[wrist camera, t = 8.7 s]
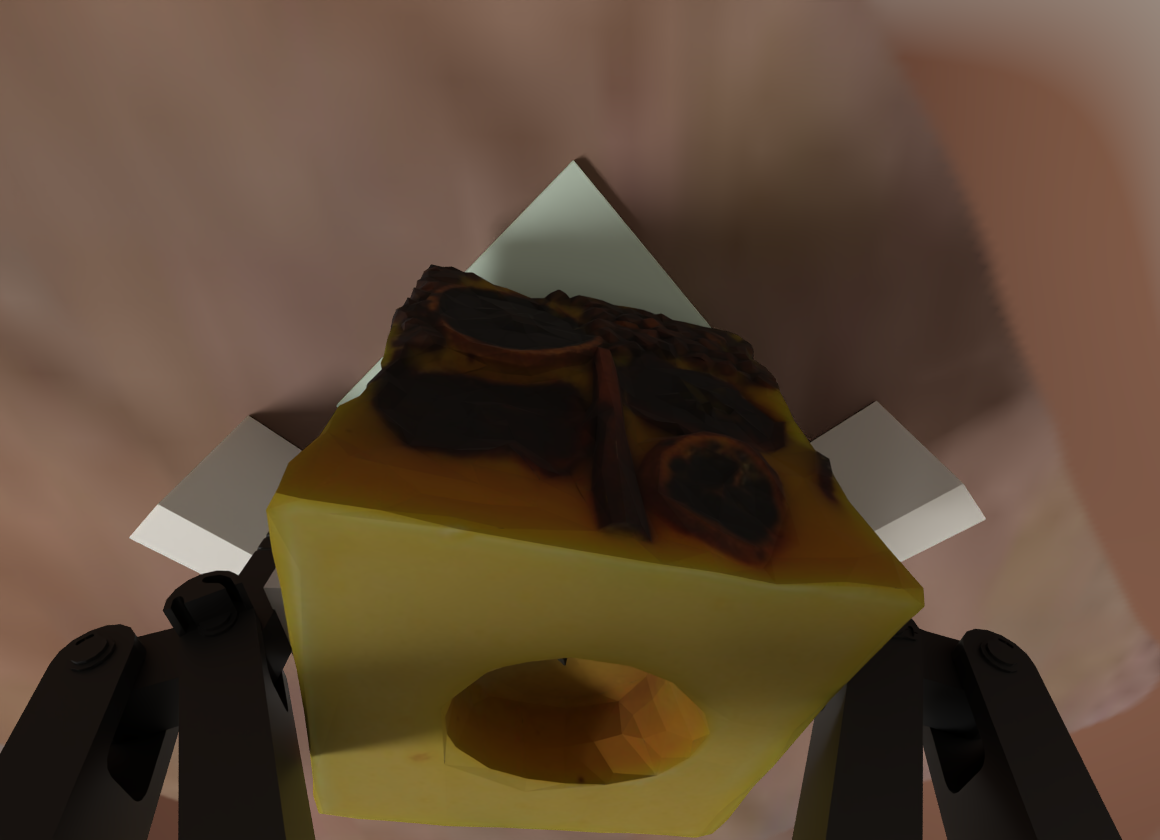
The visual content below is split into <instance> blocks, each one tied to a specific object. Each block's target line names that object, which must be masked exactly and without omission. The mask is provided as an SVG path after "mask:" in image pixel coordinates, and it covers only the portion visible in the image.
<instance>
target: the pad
mask: <svg viewBox="0 0 1160 840" xmlns="http://www.w3.org/2000/svg"><path fill="white" fill-rule="evenodd" d="M465 272H473V273H475V274H476V275H478V276H480V277H482V278H483V279H485V280H487V281H488V282H490V283H492V284H494V285H497V286H501V287H505V288H508V289H510V290H513V291H515V292H518V293H520V294H523V295H525V296H527V297H530V298H545V297H546V296H547V295H548V294H550V293H551V292H554V291H556V290H561V291H563V292H565V293H566V294H567V295H568V296H569V298H571V297H574V296H577V295H582V296H587V297H591V298H595V299H600V300H603V301H606V302H608V303H610V304H613V305H618V306H626V307H632V308H637V309H642V310H646V311H648V312H651V313H654V314H660V313H662V314H664V315H665V316H667V317H669V318H671V319H672V320H677V321H682V322H687V323H691V324H695V325H699V326H703V327H708V328H711V327H710V325H709V324H708V323H707V322H706V321H705V319H704V318H703V317H702V316H701V315H700V313H699V312H698V311H697V310H696V308H695V307H694V306H693V305H692V304H691V302H690V301H689V300H688V299H687V297H686V296H685V295H684V294H683V293H682V291H681V290H680V289H679V288H678V287H677V285H676V284H675V283H674V282H673V280H672V279H671V278H670V277H669V276H668V274H667V273H666V272H665V271H664V269H663V268H662V267H661V266H660V265H659V263H658V262H657V261H656V260H655V258H654V257H653V256H652V255H651V254H650V252H649V251H648V250H647V249H646V248H645V246H644V245H643V244H642V243H641V241H640V240H639V239H638V238H637V237H636V235H635V234H634V233H633V232H632V230H631V229H630V228H629V227H628V226H627V224H626V223H625V222H624V221H623V220H622V218H621V217H620V216H619V215H618V213H617V212H616V211H615V210H614V209H613V207H612V206H611V205H610V204H609V202H608V201H607V200H606V199H605V198H604V196H603V195H602V194H601V193H600V192H599V190H598V189H597V188H596V187H595V185H594V184H593V183H592V182H591V181H590V179H589V178H588V177H587V176H586V174H585V173H584V172H583V171H582V170H581V168H580V167H579V166H578V165H577V164H576V162H575V161H574V160H573V161H572V162H571V163H570V164H569V165H568V166H567V167H566V168H565V169H564V170H563V171H562V172H561V173H560V174H559V175H558V176H557V177H556V178H555V179H554V180H553V181H552V182H551V183H550V185H549V186H548V187H547V188H546V189H545V190H544V191H543V192H542V193H541V194H540V195H539V196H538V197H537V198H536V199H535V200H534V201H533V202H532V203H531V204H530V205H529V206H528V207H527V208H526V209H525V210H524V211H523V212H522V213H521V215H520V216H519V217H518V218H517V219H516V220H515V221H514V222H513V223H512V224H511V225H510V226H509V227H508V228H507V229H506V230H505V231H504V232H503V233H502V234H501V235H500V236H499V237H498V238H497V239H496V240H495V241H494V242H493V243H492V244H491V246H490V247H489V248H488V249H487V250H486V251H485V252H484V253H483V254H482V255H481V256H480V257H479V258H478V259H477V260H476V261H475V262H474V263H473V264H472V265H471V266H470V267H469V268H468V269H467V270H466V271H465ZM382 359H383V357H382V358H381V359H380V360H379V361H378V362H377V363H376V364H375V365H374V367H373V368H372V369H371V370H370V371H369V372H368V373H367V374H366V375H365V376H364V377H363V378H362V379H361V380H360V381H359V382H358V383H357V384H356V385H355V386H354V387H353V388H352V389H351V390H350V391H349V392H348V393H347V394H346V395H345V397H344V398H343V399H342V400H341V401H340V402H339V403H338V404H337V407H339V405H342V404H344V403H346V402H348V401H350V400H352V399H354V398H356V397H358V396H360V395H361V394H362V393H363V391H364V390H365V389H366V387H367V383H368V382H369V381H370V380H371V379H372V378H373V377H374V376H375V375H376V374H377V373H378V372H379V371H380V370H381V361H382Z"/></svg>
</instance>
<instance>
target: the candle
mask: <svg viewBox="0 0 1160 840" xmlns="http://www.w3.org/2000/svg"><path fill="white" fill-rule="evenodd" d="M753 356H754V355H753V348H752V346H751V344H749V343H748V342H746V341H745V340H743V339H742V338H741V337H739V336H738V335H736V334H733V333H730V332H727V331H722V330H718V329H713V328H708V327H703V326H699V325H695V324H691V323H687V322H682V321H677V320H672V319H671V318H669V317H667V316H665V315H664V314H662V313H660V314H654V313H651V312H648V311H646V310H642V309H637V308H632V307H626V306H618V305H613V304H610V303H608V302H606V301H603V300H600V299H595V298H591V297H587V296H582V295H577V296H574V297H571V298H569V296H568V295H567V294H566V293H565V292H563V291H561V290H556V291H554V292H551V293H550V294H548V295H547V296H546V297H545V298H530V297H527V296H525V295H523V294H520V293H518V292H515V291H513V290H510V289H508V288H505V287H501V286H497V285H494V284H492V283H490V282H488V281H487V280H485V279H483V278H482V277H480V276H478V275H476V274H475V273H473V272H462V271H460V270H458V269H456V268H454V267H440V266H436V265H430V267H429V268H428V269H427V270H425V271H424V273H423V275H422V277H421V279H420V280H418V281H417V286H416V288H414V289H413V292H412V295H411V298H407V300H406V302H405V304H404V305H403V306H402V307H400V308H398V309H397V310H396V312H395V314H394V316H393V319H392V325H391V331H390V334H389V336H388V339H387V343H386V348H385V353H384V356H383V359H382V361H381V370H380V371H379V372H378V373H377V374H376V375H375V376H374V377H373V378H372V379H371V380H370V381H369V382H368V383H367V387H366V389H365V390H364V391H363V393H362V394H361V395H360V396H358V397H356V398H354V399H352V400H350V401H348V402H346V403H344V404H342V405H339V407H338V408H337V410H336V411H335V413H334V414H333V416H332V417H331V419H330V420H329V422H328V424H327V425H326V427H325V428H324V430H323V431H322V433H321V434H320V436H319V437H317V438H316V439H315V440H314V441H313V442H312V443H311V444H309V445H308V446H307V447H306V448H305V449H304V450H302V451H301V452H300V453H299V454H298V455H297V456H296V457H294V458H293V459H292V460H291V461H290V462H289V463H288V465H287V467H286V470H285V472H284V474H283V477H282V479H281V482H280V484H279V486H278V489H277V490H276V492H275V494H274V496H273V498H272V500H271V501H270V503H269V505H268V507H267V509H266V513H267V520H268V527H269V534H270V541H271V548H272V553H273V558H274V562H275V566H276V570H277V575H278V579H279V583H280V587H281V592H282V598H283V604H284V610H285V615H286V621H287V627H288V633H289V639H290V643H291V648H292V652H293V656H294V660H295V664H296V668H297V673H298V679H299V685H300V690H301V696H302V702H303V707H304V714H305V721H306V728H307V735H308V742H309V750H310V757H311V766H312V775H313V796H314V799H315V802H316V805H317V809H318V812H319V813H321V814H328V815H335V816H342V817H349V818H356V819H370V820H385V821H397V822H408V823H420V824H431V825H442V826H468V827H504V828H523V829H545V830H567V831H582V832H598V833H639V834H655V835H670V836H682V837H694V838H696V837H700V836H704V835H708V834H712V833H713V832H714V831H716V830H717V829H718V828H719V827H720V826H721V825H722V824H723V823H724V822H726V821H727V820H728V818H729V817H730V816H731V815H732V813H733V812H734V811H735V809H736V808H737V807H738V806H739V804H740V803H741V802H742V800H743V799H744V798H745V797H746V795H747V794H748V793H749V791H750V790H751V789H752V787H753V786H754V785H755V784H756V783H757V782H758V781H759V780H760V779H761V778H762V777H763V776H764V775H765V774H766V773H767V772H768V771H769V770H770V769H771V768H772V767H773V766H774V765H775V764H776V762H777V761H778V760H779V759H780V758H781V757H782V755H783V754H784V753H785V752H786V751H787V750H788V748H789V747H790V746H791V745H792V744H793V743H794V741H795V740H796V739H797V738H798V737H799V736H800V734H801V733H802V732H803V731H804V730H805V729H806V728H807V726H808V725H809V724H810V723H811V722H812V721H813V719H814V718H815V717H816V716H817V715H818V714H819V712H820V711H821V710H822V709H823V708H824V707H825V705H826V704H827V703H828V702H829V701H830V700H831V699H832V698H833V697H834V696H835V695H836V694H837V693H838V692H839V691H840V690H841V689H842V688H843V686H844V685H845V684H846V683H847V682H848V681H849V680H850V679H851V678H852V677H853V676H854V675H855V674H856V673H857V672H858V671H859V670H860V669H861V668H862V667H863V666H864V665H865V664H866V663H867V662H868V661H869V660H870V659H871V658H872V657H873V656H874V655H875V654H876V653H877V652H878V651H879V650H880V649H881V648H882V647H883V646H884V645H885V644H886V643H887V642H888V641H889V640H890V639H891V638H892V637H893V636H894V635H895V634H896V633H897V632H898V631H899V630H900V629H901V628H902V627H903V626H904V625H905V624H906V623H907V622H908V621H909V620H910V619H911V618H912V617H913V616H915V615H916V614H917V613H918V612H919V611H920V610H921V609H922V608H923V607H924V590H923V587H922V586H921V585H920V584H919V583H918V582H917V580H916V579H915V578H914V577H913V576H912V575H911V574H910V572H909V571H908V570H907V569H906V568H905V567H904V566H903V564H902V563H901V562H900V561H899V560H898V559H897V557H896V556H895V555H894V554H893V553H892V552H891V551H890V549H889V548H888V547H887V546H886V545H885V543H884V542H883V541H882V540H881V539H880V537H879V536H878V535H877V534H876V533H875V532H874V530H873V529H872V528H871V527H870V526H869V524H868V523H867V522H866V521H865V520H864V518H863V517H862V516H861V515H860V514H859V512H858V511H857V510H856V509H855V508H854V506H853V505H852V504H851V503H850V502H849V500H848V498H847V497H846V495H845V493H844V492H843V490H842V488H841V486H840V485H839V483H838V481H837V480H836V478H835V476H834V474H833V472H832V468H831V464H830V459H829V458H827V457H826V456H824V455H822V454H821V453H819V452H818V451H816V450H815V449H814V448H813V446H812V445H811V444H810V442H809V441H808V439H807V438H806V437H805V435H804V434H803V432H802V431H801V430H800V428H799V427H798V425H797V424H796V423H795V421H794V419H793V417H792V415H791V413H790V410H789V408H788V406H787V404H786V402H785V400H784V399H783V397H782V395H781V393H780V390H779V386H778V383H776V379H775V378H774V377H773V375H772V374H771V373H770V372H769V371H768V370H767V369H766V368H765V367H764V366H762V365H761V364H759V363H758V362H756V361H755V360H753Z"/></svg>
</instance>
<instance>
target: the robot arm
mask: <svg viewBox="0 0 1160 840" xmlns="http://www.w3.org/2000/svg"><path fill="white" fill-rule="evenodd" d="M163 612H164V613H165V615H166V617H167V618H168V620H169V621H170V623H171V625H172V626H173V628H172V629H168V630H164V631H160V632H156V633H152V634H148V635H144V636H140V637H137V636H136V635H135V633H134V632H133V630H132V629H131V627H128V626H124V625H121V624H118V625H107V626H103V627H100V628H97V629H94V630H91V631H89V632H87V633H85V634H84V635H82V636H80V637H78V638H76V639H75V640H73V641H72V642H71V643H69V644H68V645H67V646H66V647H64V648H63V649H62V650H61V651H59V653H58V654H57V655H56V657H55V658H54V659H53V660H52V662H51V663H50V664H49V666H48V668H47V670H46V672H45V674H44V675H43V677H42V679H41V681H40V683H39V684H38V686H37V688H36V690H35V692H34V693H33V695H32V697H31V699H30V701H29V703H28V704H27V706H26V708H25V710H24V712H23V713H22V715H21V717H20V719H19V721H18V722H17V724H16V726H15V728H14V730H13V732H12V733H11V735H10V737H9V739H8V741H7V742H6V744H5V746H4V748H3V750H2V751H1V753H0V840H147V838H148V834H149V831H150V827H151V824H152V820H153V817H154V814H155V810H156V807H157V803H158V800H159V796H160V793H161V790H162V786H163V783H164V779H165V776H166V773H167V769H168V766H169V762H170V759H171V755H172V752H173V749H174V745H175V742H176V738H177V735H178V731H179V821H178V825H179V828H178V831H179V833H178V840H315V835H314V829H313V824H312V818H311V812H310V807H309V801H308V796H307V790H306V784H305V779H304V773H303V767H302V762H301V756H300V750H299V745H298V739H297V734H296V728H295V722H294V717H293V711H292V705H291V700H290V694H289V688H288V683H287V678H286V675H285V673H284V671H283V668H284V666H285V664H286V662H287V660H288V658H289V656H290V654H291V652H292V648H291V643H290V639H289V633H288V627H287V621H286V615H285V610H284V604H283V598H282V592H281V587H280V583H279V579H278V575H277V570H276V566H275V562H274V558H273V553H272V548H271V541H270V534H269V532H268V533H267V535H266V538H264V539H263V540H262V542H261V543H260V545H259V546H258V550H257V551H255V552H254V553H253V555H252V556H251V558H250V559H249V561H248V562H247V564H246V565H245V566H244V568H243V569H242V571H241V572H240V574H239V575H237V574H235V573H233V572H231V571H220V570H217V571H212V572H208V573H203V574H201V575H199V576H196V577H194V578H192V579H190V580H188V581H186V582H185V583H184V584H182V585H181V586H180V587H178V588H177V589H175V591H174V592H173V593H172V594H171V595H170V597H169V598H168V599H167V600H166V603H165V606H164V609H163ZM292 654H293V652H292ZM293 657H294V656H293ZM923 747H924V751H925V755H926V759H927V763H928V767H929V771H930V774H931V778H932V782H933V786H934V790H935V794H936V798H937V801H938V805H939V809H940V813H941V817H942V821H943V825H944V828H945V832H946V836H947V840H1122V839H1121V837H1120V835H1119V833H1118V831H1117V829H1116V827H1115V825H1114V823H1113V821H1112V819H1111V817H1110V815H1109V813H1108V811H1107V809H1106V807H1105V805H1104V803H1103V801H1102V799H1101V797H1100V795H1099V793H1098V791H1097V789H1096V787H1095V785H1094V783H1093V781H1092V779H1091V777H1090V775H1089V773H1088V771H1087V769H1086V767H1085V765H1084V763H1083V760H1082V758H1081V756H1080V754H1079V752H1078V751H1077V748H1076V747H1075V745H1074V743H1073V740H1072V739H1071V736H1070V734H1069V732H1068V730H1067V728H1066V726H1065V724H1064V722H1063V720H1062V718H1061V716H1060V714H1059V712H1058V710H1057V708H1056V706H1055V704H1054V702H1053V700H1052V698H1051V696H1050V694H1049V692H1048V690H1047V688H1046V686H1045V684H1044V682H1043V680H1042V678H1041V676H1040V674H1039V672H1038V670H1037V668H1036V666H1035V665H1034V663H1033V662H1032V661H1031V659H1030V658H1029V656H1028V655H1027V654H1026V653H1025V652H1024V651H1023V650H1022V649H1020V648H1019V647H1018V646H1017V645H1016V644H1015V643H1013V642H1011V641H1010V640H1008V639H1006V638H1005V637H1003V636H1002V635H999V634H996V633H994V632H991V631H988V630H981V629H973V630H970V631H967V632H966V633H965V635H964V636H963V637H962V639H961V640H960V641H959V640H956V639H952V638H949V637H945V636H941V635H938V634H934V633H931V632H927V631H924V630H922V629H919V628H918V626H917V625H916V623H915V622H914V621H913V620H912V619H910V620H909V621H908V622H907V623H906V624H905V625H904V626H903V627H902V628H901V629H900V630H899V631H898V632H897V633H896V634H895V635H894V636H893V637H892V638H891V639H890V640H889V641H888V642H887V643H886V644H885V645H884V646H883V647H882V648H881V649H880V650H879V651H878V652H877V653H876V654H875V655H874V656H873V657H872V658H871V659H870V660H869V661H868V662H867V663H866V664H865V665H864V666H863V667H862V668H861V669H860V670H859V671H858V672H857V673H856V674H855V675H854V676H853V677H852V678H851V679H850V680H849V681H848V682H847V683H846V684H845V685H844V686H843V688H842V689H841V690H840V691H839V692H838V693H837V694H836V695H835V696H834V697H833V698H832V699H831V700H830V701H829V702H828V703H827V704H826V705H825V707H824V708H823V709H822V710H821V711H820V712H819V714H818V715H817V716H816V717H815V719H814V724H813V729H812V735H811V740H810V746H809V751H808V756H807V762H806V767H805V773H804V778H803V783H802V789H801V794H800V799H799V805H798V810H797V816H796V821H795V826H794V832H793V837H792V840H922V834H923V833H922V832H923V829H922V827H923V826H922V825H923Z"/></svg>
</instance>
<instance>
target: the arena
mask: <svg viewBox="0 0 1160 840" xmlns="http://www.w3.org/2000/svg"><path fill="white" fill-rule="evenodd" d="M810 444H811V445H812V446H813V448H814V449H815V450H816V451H818V452H819V453H821V454H822V455H824V456H826V457H827V458H829V459H830V464H831V468H832V472H833V474H834V476H835V478H836V480H837V481H838V483H839V485H840V486H841V488H842V490H843V492H844V493H845V495H846V497H847V498H848V500H849V502H850V503H851V504H852V505H853V506H854V508H855V509H856V510H857V511H858V512H859V514H860V515H861V516H862V517H863V518H864V520H865V521H866V522H867V523H868V524H869V526H870V527H871V528H872V529H873V530H874V532H875V533H876V534H877V535H878V536H879V537H880V539H881V540H882V541H883V542H884V543H885V545H886V546H887V547H888V548H889V549H890V551H891V552H892V553H893V554H894V555H895V556H896V557H897V559H898V560H899V561H900V562H902V561H904V560H906V559H908V558H910V557H912V556H914V555H916V554H918V553H920V552H922V551H924V550H926V549H928V548H930V547H932V546H934V545H936V544H938V543H940V542H942V541H944V540H946V539H948V538H950V537H952V536H954V535H956V534H958V533H960V532H962V531H964V530H966V529H968V528H969V527H971V526H973V525H975V524H977V523H979V522H981V521H983V520H985V519H986V518H985V517H984V515H983V514H982V512H981V510H980V509H979V507H978V506H977V504H976V503H975V501H974V500H973V498H972V496H971V495H970V493H969V492H968V490H967V489H966V487H965V486H964V484H963V483H962V482H961V481H960V480H959V479H958V478H957V477H956V476H955V475H954V474H953V473H952V472H951V471H950V470H948V469H947V468H946V467H945V466H944V465H943V464H942V463H941V462H940V461H939V460H938V459H937V458H936V457H935V456H934V455H933V454H932V453H931V452H930V451H929V450H928V449H927V448H925V447H924V446H923V445H922V444H921V443H920V442H919V441H918V440H917V439H916V438H915V437H914V436H913V435H912V434H911V433H910V432H909V431H908V430H907V429H906V428H905V427H904V426H903V425H901V424H900V423H899V422H898V421H897V420H896V419H895V418H894V417H893V416H892V415H891V414H890V413H889V412H888V411H887V410H886V409H885V408H884V407H883V406H882V405H881V404H880V403H879V402H877V401H875V402H874V403H872V404H871V405H869V406H867V407H866V408H864V409H863V410H861V411H860V412H858V413H856V414H855V415H853V416H852V417H850V418H848V419H847V420H845V421H844V422H842V423H840V424H839V425H837V426H836V427H834V428H832V429H831V430H829V431H828V432H826V433H825V434H823V435H821V436H820V437H818V438H817V439H815V440H813V441H812V442H810ZM301 451H302V450H300V449H299V448H297V447H296V446H294V445H293V444H291V443H290V442H288V441H287V440H285V439H283V438H282V437H280V436H279V435H277V434H276V433H274V432H273V431H271V430H270V429H268V428H267V427H265V426H264V425H262V424H261V423H259V422H258V421H256V420H255V419H253V418H252V417H250V416H247V417H246V418H245V419H244V420H243V421H242V422H241V423H240V424H239V425H238V426H237V427H236V428H235V429H234V430H233V431H232V432H231V433H230V434H229V435H228V436H227V437H226V438H225V439H224V440H223V441H222V442H221V443H220V444H219V445H218V446H217V447H216V448H215V449H214V450H213V451H212V452H211V453H210V454H209V455H208V456H207V457H206V458H205V459H203V460H202V461H201V462H200V463H199V464H198V465H197V466H196V467H195V468H194V469H193V470H192V471H191V472H190V473H189V474H188V475H187V476H186V477H185V478H184V479H183V480H182V481H181V482H180V483H179V484H178V485H177V486H176V487H175V488H174V489H173V490H172V491H171V492H170V493H169V494H168V495H167V496H166V497H165V498H164V499H163V500H162V501H161V502H160V503H159V504H158V505H157V506H156V507H155V508H154V509H153V511H152V512H151V513H150V514H149V515H148V516H147V518H146V519H145V520H144V521H143V522H142V523H141V525H140V526H139V527H138V528H137V529H136V530H135V532H134V533H133V534H132V535H131V536H130V537H129V538H130V539H132V540H134V541H136V542H138V543H140V544H142V545H144V546H146V547H148V548H150V549H152V550H154V551H156V552H158V553H160V554H162V555H164V556H166V557H168V558H170V559H172V560H174V561H176V562H178V563H180V564H182V565H184V566H186V567H188V568H190V569H192V570H194V571H196V572H198V573H200V574H203V573H208V572H212V571H217V570H220V571H231V572H233V573H235V574H237V575H239V574H240V572H241V571H242V569H243V568H244V566H245V565H246V564H247V562H248V561H249V559H250V558H251V556H252V555H253V553H254V552H255V551H257V550H258V546H259V545H260V543H261V542H262V540H263V539H264V538H266V535H267V533H268V532H269V527H268V520H267V513H266V509H267V507H268V505H269V503H270V501H271V500H272V498H273V496H274V494H275V492H276V490H277V489H278V486H279V484H280V482H281V479H282V477H283V474H284V472H285V470H286V467H287V465H288V463H289V462H290V461H291V460H292V459H293V458H294V457H296V456H297V455H298V454H299V453H300V452H301Z"/></svg>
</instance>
